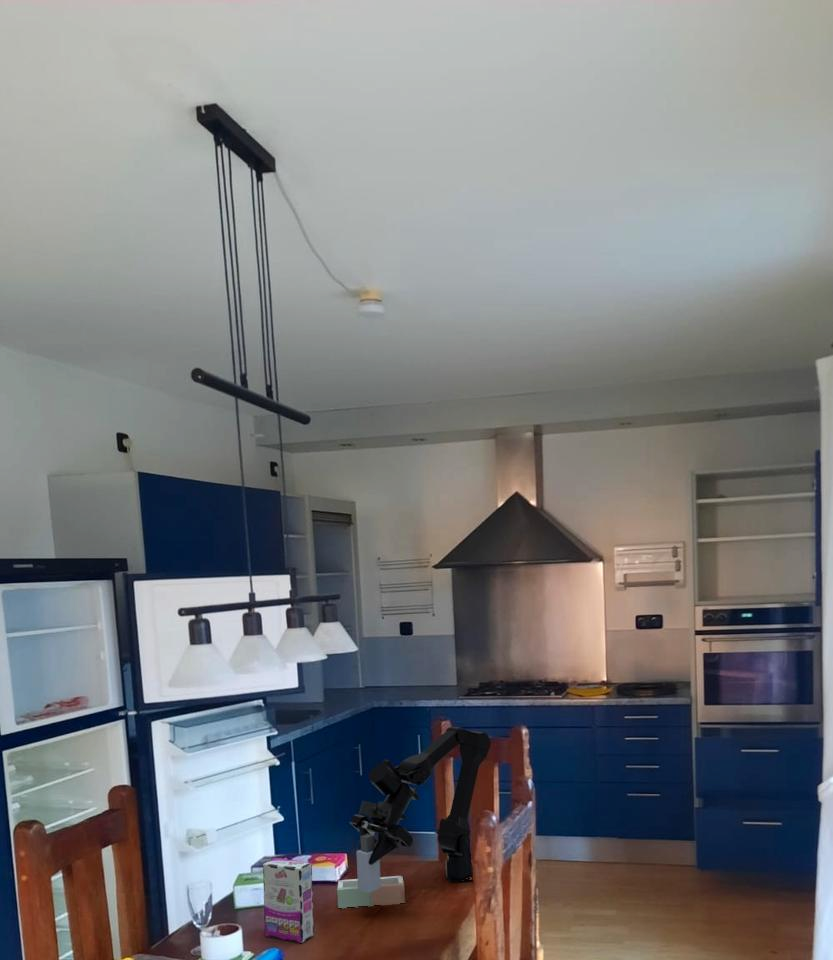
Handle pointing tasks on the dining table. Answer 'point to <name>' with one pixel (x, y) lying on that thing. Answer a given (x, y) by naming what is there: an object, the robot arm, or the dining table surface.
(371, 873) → the grey capped bottle
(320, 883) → the dining table surface
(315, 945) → the dining table surface
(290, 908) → the candy bar box
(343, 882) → the socket block
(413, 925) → the dining table surface
